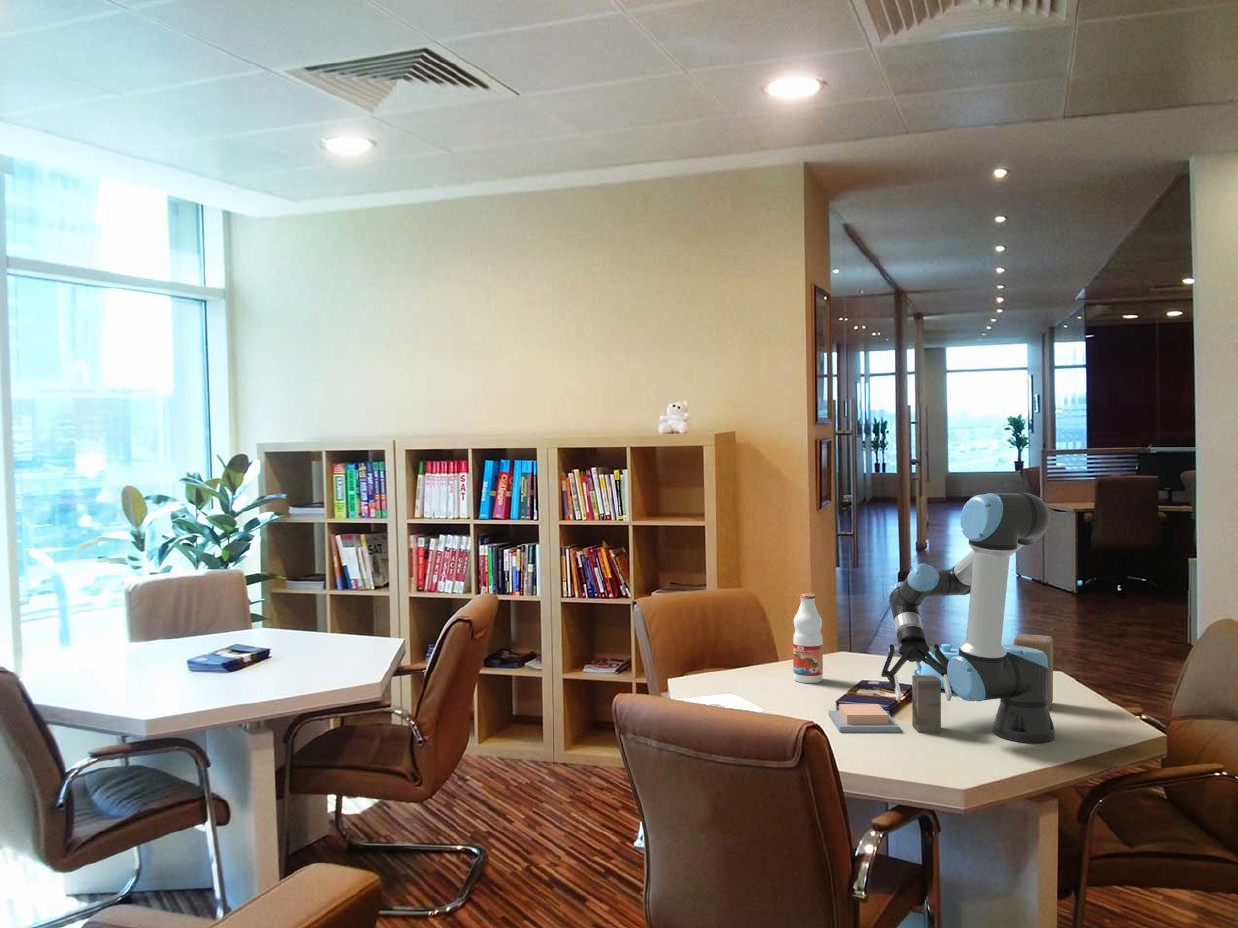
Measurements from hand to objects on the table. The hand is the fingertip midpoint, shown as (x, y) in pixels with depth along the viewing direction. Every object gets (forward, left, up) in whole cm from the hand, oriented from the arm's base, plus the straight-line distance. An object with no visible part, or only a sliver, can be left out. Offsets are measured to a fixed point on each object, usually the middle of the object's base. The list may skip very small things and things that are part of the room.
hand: (924, 698), depth 269 cm
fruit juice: (+58, +8, -8) cm, 59 cm away
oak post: (-1, 0, -8) cm, 8 cm away
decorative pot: (+38, -30, -8) cm, 49 cm away
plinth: (+8, +14, -8) cm, 18 cm away
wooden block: (+13, -43, -8) cm, 46 cm away
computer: (+28, +50, -9) cm, 58 cm away
